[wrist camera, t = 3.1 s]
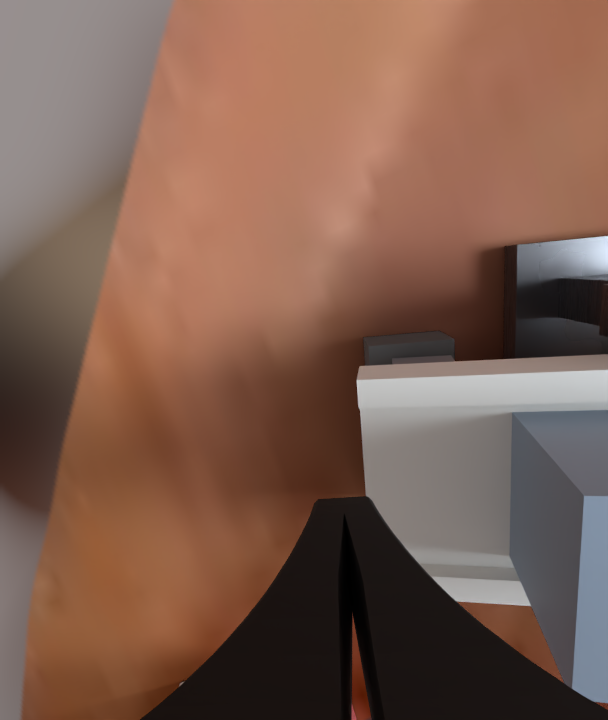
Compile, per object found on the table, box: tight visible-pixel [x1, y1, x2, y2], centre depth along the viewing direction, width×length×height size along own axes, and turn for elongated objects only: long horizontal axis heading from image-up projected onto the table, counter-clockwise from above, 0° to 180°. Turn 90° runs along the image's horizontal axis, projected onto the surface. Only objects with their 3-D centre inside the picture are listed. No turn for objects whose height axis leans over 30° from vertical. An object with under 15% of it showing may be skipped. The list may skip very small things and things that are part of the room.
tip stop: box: [363, 331, 455, 366], centre depth 16 cm, size 3×7×2 cm, turn 5°
